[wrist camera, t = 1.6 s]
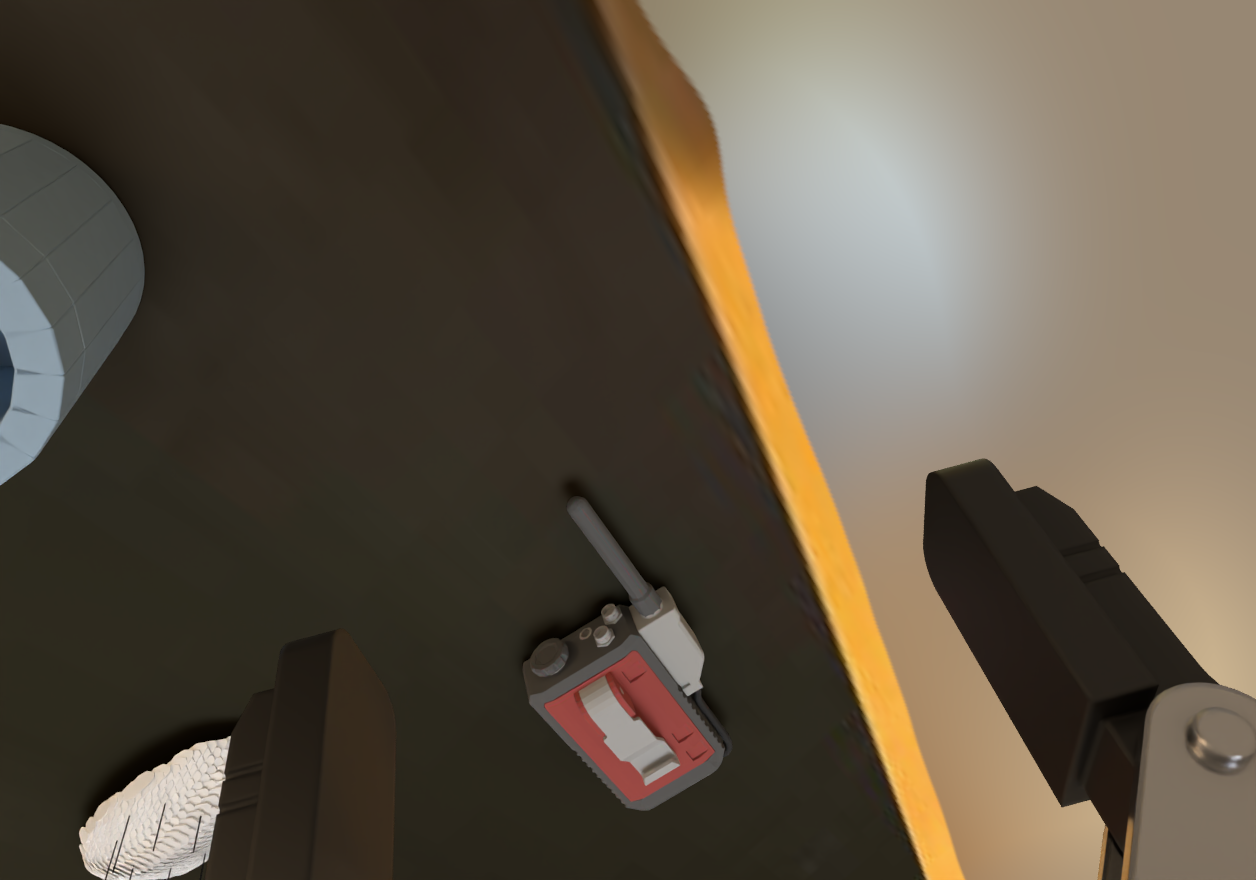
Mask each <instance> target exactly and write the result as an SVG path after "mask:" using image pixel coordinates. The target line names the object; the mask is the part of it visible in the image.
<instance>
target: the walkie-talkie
mask: <svg viewBox="0 0 1256 880" xmlns="http://www.w3.org/2000/svg"><path fill="white" fill-rule="evenodd" d="M566 507H567V511H568V513H569V514H570V516H571V517H572V518H573V520H574V521H575V522H576V524H577V525H578V526H579V528H580V529H581V530H582V532H583V533H584V534H585V536H586V537H587V538H588V540H589V541H590V542H591V544H592V545H593V546H594V548H595V549H596V551H597V552H598V553H599V555H600V556H601V557H602V559H603V560H604V561H605V563H606V564H607V565H608V567H609V568H610V569H611V571H612V572H613V573H614V575H615V576H616V577H617V579H618V580H619V581H620V583H621V584H622V585H623V587H624V588H625V589H626V591H627V592H628V593H629V600H630V602H631V603H632V604H633V605H631V606H630V607H628V606H624V605H620V604H619V605H618V606H615V605H614V604H608V605H606V606H605V607H604V608H603V609H602V611H601V614H602V615H601V616H599V617H598V618H596V619H594V620H593V621H591V622H590V623H588V624H586V625H585V626H583V627H581V628H580V629H578V630H576V631H575V632H573V633H571V634H570V635H568V636H566V637H565V638H563V639H562V640H560V639H559V638H552V639H549V640H546V641H544V642H542V643H541V644H540V645H539V646H538V647H537V648H536V649H535V650H534V652H533V654H532V656H531V658H530V659H529V660H527V661H525V662H524V663H523V675H524V680H525V685H526V690H527V695H528V700H529V703H530V705H531V706H532V707H533V708H534V709H535V710H536V711H537V712H538V713H539V714H540V715H541V716H542V718H543V719H544V720H545V721H546V722H547V723H548V724H549V725H550V726H551V727H552V728H553V729H554V730H555V732H556V733H557V734H558V735H559V736H560V737H561V738H562V739H563V740H564V741H565V742H566V743H567V744H568V746H569V747H570V748H571V749H572V750H575V751H576V754H577V755H578V756H581V759H582V761H585V762H586V764H587V766H588V767H591V769H592V771H593V772H595V773H596V775H597V777H598V778H601V780H602V782H603V783H606V786H607V788H610V789H611V792H612V793H615V795H616V797H617V798H620V801H621V803H624V804H625V807H626V808H632V809H637V810H650V809H652V808H654V807H656V806H657V805H659V804H661V803H662V802H664V801H666V800H668V799H669V798H671V797H673V796H674V795H676V794H678V793H679V792H681V791H683V790H684V789H686V788H688V787H689V786H691V785H693V784H694V783H696V782H698V781H699V780H701V779H703V778H705V777H706V776H708V775H710V774H711V773H713V772H714V771H715V770H717V769H718V767H719V766H720V764H721V763H722V759H723V757H725V756H727V755H728V754H729V753H730V752H731V750H732V741H731V738H730V737H729V734H728V732H727V731H726V730H725V728H724V727H723V726H722V724H721V723H720V722H719V720H718V719H717V718H716V716H715V715H714V714H713V712H712V711H711V710H710V708H709V707H708V706H707V704H706V703H705V701H704V700H703V698H702V697H701V688H702V687H703V686H702V683H701V681H700V675H701V671H702V666H703V662H704V653H703V650H702V648H701V646H700V644H699V642H698V640H697V638H696V636H695V634H694V632H693V631H692V629H691V628H690V627H689V625H688V624H687V622H686V621H685V619H684V618H683V616H682V615H681V614H680V612H679V611H678V609H677V606H676V604H675V602H674V600H673V598H672V596H671V594H670V593H669V592H668V590H667V589H666V588H665V587H661V588H660V589H658V590H656V591H655V590H654V588H653V587H652V585H651V584H649V583H647V582H645V581H644V579H643V578H642V577H641V575H640V574H639V572H638V571H637V570H636V568H635V567H634V565H633V564H632V563H631V561H630V560H629V558H628V557H627V556H626V554H625V553H624V551H623V550H622V549H621V547H620V546H619V544H618V543H617V542H616V540H615V539H614V538H613V536H612V535H611V533H610V532H609V531H608V529H607V528H606V526H605V525H604V524H603V522H602V521H601V519H600V518H599V517H598V515H597V514H596V513H595V511H594V510H593V508H592V507H591V506H590V504H589V503H588V501H587V500H586V499H585V498H583V497H580V496H574V497H572V498H570V500H569V501H568V503H567V506H566ZM719 734H720V736H721V737H722V738H723V742H722V740H721V738H720V736H719Z"/></svg>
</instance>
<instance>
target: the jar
mask: <svg viewBox="0 0 1256 880" xmlns="http://www.w3.org/2000/svg"><path fill="white" fill-rule="evenodd" d="M144 275H145V268H144V258H143V252H142V248H141V244H140V240H139V237H138V234H137V232H136V229H135V227H134V224H133V222H132V220H131V218H130V217H129V215H128V213H127V211H126V209H125V208H124V206H123V205H122V203H121V202H120V200H119V199H118V198H117V196H116V195H115V193H114V192H113V191H112V190H111V189H110V188H109V187H108V185H107V184H106V183H105V182H104V181H103V180H102V179H101V178H100V177H99V176H98V175H97V174H96V173H95V172H94V171H93V170H91V169H90V168H89V167H88V166H87V165H86V164H84V163H83V162H82V161H80V160H79V159H78V158H76V157H75V156H73V155H72V154H71V153H69V152H68V151H66V150H64V149H62V148H61V147H59V146H57V145H56V144H54V143H52V142H50V141H48V140H46V139H43V138H41V137H39V136H37V135H35V134H32V133H29V132H26V131H23V130H20V129H17V128H14V127H11V126H6V125H2V124H0V485H2V484H3V483H4V482H6V481H7V480H8V479H10V478H11V477H12V476H14V475H15V474H16V473H18V472H19V471H20V470H22V469H23V468H24V467H26V466H27V465H28V464H30V463H31V462H32V461H34V460H35V459H36V457H37V456H38V455H39V454H40V452H41V451H42V449H43V448H44V446H45V445H46V444H47V442H48V441H49V439H50V438H51V436H52V435H53V434H54V432H55V431H56V429H57V428H58V426H59V425H60V424H61V422H62V421H63V419H64V418H65V417H66V415H67V414H68V412H69V411H70V409H71V408H72V407H73V405H74V404H75V402H76V401H77V400H78V398H79V397H80V395H81V394H82V392H83V391H84V390H85V388H86V387H87V385H88V384H89V382H90V381H91V380H92V378H93V377H94V375H95V374H96V372H97V371H98V370H99V368H100V367H101V365H102V364H103V362H104V361H105V360H106V358H107V357H108V355H109V354H110V352H111V351H112V350H113V348H114V347H115V345H116V344H117V343H118V341H119V339H120V338H121V336H122V334H123V333H124V331H125V330H126V328H127V327H128V325H129V324H130V322H131V320H132V319H133V317H134V315H135V314H136V311H137V309H138V306H139V303H140V301H141V297H142V292H143V288H144Z"/></svg>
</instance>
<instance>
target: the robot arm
mask: <svg viewBox="0 0 1256 880" xmlns="http://www.w3.org/2000/svg"><path fill="white" fill-rule="evenodd" d="M925 494H926V495H925V515H924V539H923V550H924V557H925V562H926V566H927V569H928V572H929V575H930V578H931V580H932V582H933V585H934V587H935V589H936V591H937V592H938V594H939V596H940V598H941V599H942V601H943V603H944V605H945V606H946V608H947V610H948V611H949V613H950V615H951V617H952V618H953V620H954V622H955V623H956V625H957V627H958V629H959V630H960V632H961V634H962V636H963V637H964V639H965V641H966V643H967V644H968V646H969V648H970V650H971V651H972V653H973V655H974V656H975V658H976V660H977V661H978V663H979V665H980V667H981V668H982V670H983V672H984V674H985V675H986V677H987V679H988V681H989V682H990V684H991V686H992V688H993V689H994V691H995V693H996V694H997V696H998V698H999V699H1000V701H1001V703H1002V705H1003V707H1004V708H1005V710H1006V712H1007V713H1008V715H1009V717H1010V719H1011V720H1012V722H1013V724H1014V725H1015V727H1016V729H1017V731H1018V732H1019V734H1020V736H1021V738H1022V739H1023V741H1024V743H1025V745H1026V746H1027V748H1028V750H1029V751H1030V753H1031V755H1032V757H1033V758H1034V760H1035V762H1036V763H1037V765H1038V767H1039V769H1040V771H1041V772H1042V774H1043V776H1044V777H1045V779H1046V781H1047V783H1048V784H1049V786H1050V788H1051V790H1052V791H1053V793H1054V795H1055V796H1056V798H1057V800H1058V802H1059V803H1060V805H1061V807H1065V806H1069V805H1073V804H1076V803H1080V802H1083V801H1087V800H1091V801H1092V803H1093V805H1094V806H1095V808H1096V810H1097V811H1098V813H1099V815H1100V816H1101V818H1102V820H1103V821H1104V823H1105V824H1106V825H1105V829H1104V833H1103V840H1102V849H1101V856H1100V864H1099V872H1098V879H1097V880H1256V699H1254V698H1252V697H1251V696H1249V695H1247V694H1244V693H1242V692H1240V691H1238V690H1235V689H1232V688H1228V687H1226V686H1222V685H1219V684H1218V683H1217V682H1216V681H1215V680H1214V679H1213V678H1211V677H1210V676H1209V675H1208V674H1207V673H1206V672H1205V671H1204V670H1203V669H1202V667H1201V666H1200V665H1199V664H1198V663H1197V661H1196V660H1195V659H1194V658H1193V656H1192V655H1191V654H1190V653H1189V651H1188V650H1187V649H1186V648H1185V647H1184V645H1183V644H1182V643H1181V642H1180V640H1179V639H1178V638H1177V637H1176V635H1175V634H1174V633H1173V632H1172V630H1171V629H1170V628H1169V627H1168V625H1167V624H1166V623H1165V622H1164V621H1163V619H1162V618H1161V617H1160V616H1159V614H1158V613H1157V612H1156V611H1155V609H1154V608H1153V607H1152V606H1151V605H1150V603H1149V602H1148V601H1147V600H1146V598H1145V597H1144V596H1143V594H1142V593H1141V592H1140V591H1139V590H1138V588H1137V587H1136V586H1135V585H1134V583H1133V582H1132V581H1131V580H1130V578H1129V577H1128V576H1127V575H1126V574H1125V572H1124V573H1122V572H1121V571H1120V569H1119V565H1118V563H1117V562H1116V561H1115V560H1114V559H1113V557H1112V556H1111V555H1110V554H1109V553H1108V551H1107V550H1106V549H1105V547H1101V546H1100V544H1099V540H1098V539H1097V538H1096V536H1095V535H1094V534H1093V532H1092V531H1091V530H1090V529H1089V528H1088V526H1087V525H1086V524H1085V523H1084V521H1083V520H1082V519H1081V518H1080V516H1079V515H1078V514H1077V513H1076V511H1075V510H1074V509H1073V508H1071V507H1069V506H1068V505H1066V504H1065V503H1063V502H1061V501H1060V500H1058V499H1057V498H1055V497H1053V496H1052V495H1050V494H1049V493H1047V492H1045V491H1044V490H1042V489H1040V488H1039V487H1037V486H1034V487H1031V488H1027V489H1023V490H1020V491H1016V492H1014V491H1013V489H1012V488H1011V486H1010V485H1009V484H1008V482H1007V481H1006V480H1005V478H1004V477H1003V476H1002V474H1001V473H1000V472H999V470H998V469H997V468H996V466H995V465H994V464H993V463H992V462H990V461H989V460H987V459H979V460H975V461H972V462H968V463H964V464H960V465H957V466H953V467H949V468H945V469H942V470H938V471H934V472H931V473H929V474H928V476H927V479H926V493H925ZM395 764H396V723H395V716H394V711H393V707H392V703H391V700H390V697H389V695H388V692H387V690H386V688H385V687H384V685H383V684H382V682H381V681H380V679H379V678H378V676H377V675H376V673H375V672H374V670H373V669H372V667H371V666H370V664H369V663H368V661H367V660H366V658H365V657H364V655H363V654H362V652H361V651H360V649H359V648H358V646H357V645H356V643H355V642H354V641H353V639H352V638H351V636H350V635H349V633H348V632H347V631H346V630H344V629H337V630H333V631H329V632H326V633H322V634H318V635H315V636H311V637H307V638H303V639H300V640H296V641H292V642H289V643H286V644H285V645H284V646H283V648H282V649H281V652H280V656H279V661H278V668H277V674H276V681H275V688H274V689H270V690H266V691H263V692H259V693H255V694H253V696H252V697H251V699H250V701H249V703H248V705H247V706H246V708H245V710H244V712H243V714H242V715H241V717H240V719H239V721H238V722H237V724H236V726H235V728H234V730H233V731H232V733H231V739H230V744H229V750H228V755H227V760H226V766H225V771H224V774H225V777H226V779H225V781H223V782H222V787H221V793H220V798H219V804H218V807H219V809H220V812H219V814H217V815H216V820H215V825H214V831H213V836H212V842H211V847H210V853H209V858H208V863H207V869H206V874H205V880H393V845H394V804H395Z"/></svg>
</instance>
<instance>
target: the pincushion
mask: <svg viewBox="0 0 1256 880" xmlns="http://www.w3.org/2000/svg"><path fill="white" fill-rule="evenodd" d="M230 739H231V736H229V737H227V738H226V739H220V740H216V741H215V740H213V741H206V742H203V743H196V744H195V745H194V746H192V747H191V748H190V749H189V750H183V751H181V752H180V753H178V754H176V755H175V756H174V757H173V759H172V760H171V761H170V762H168V763H167V764H162V765H160V766H158V767H156V768H154V769H153V770H152V772H151V771H146V772H144V773H142V774H140V775H139V776H137V778H136V779H135V780H134V781H132V782H131V783H130V784H129V785H127V786H126V787H125V789H124V790H123V791H122V792H117V793H116V794H115V795H113V796H111V797H110V798H109V799H108V800H106V801H104V802H103V803H102V804H101V805H99V806H98V808H97V810H96V812H95V814H94V817H90V818H89V819H88V821H87V823H86V827H82V828H81V829H80V832H79V835H80V839H81V843H82V844H83V845H82V844H80V846H79V848H80V851H81V853H82V855H83V857H82V858H83V861H84V864H85V867H86V868H87V869H88V870H89V872H90V873H92V874H93V875H95V876H97V877H100V878H102V879H104V880H106V879H107V880H150V879H153V880H155V879H167V878H168V880H169V878H171V877H173V876H180V875H183V874H185V873H187V872H189V871H190V870H193V869H194V868H196V867H198V866H199V865H201V864H202V863H203V864H202V869H201V875H200V880H201V877H202V872H203V867H204V862H206V861H207V860H208V858H209V853H210V847H211V842H212V836H213V831H214V825H215V820H216V815H217V814H219V812H220V809H219V807H218V804H219V798H220V793H221V787H222V782H223V781H225V779H226V777H225V774H224V771H225V766H226V760H227V755H228V750H229V744H230ZM209 845H210V846H209ZM207 846H208V847H207ZM205 847H206V848H205ZM198 850H199V851H198ZM202 850H203V851H202ZM196 851H197V852H196ZM200 851H201V852H200ZM198 852H199V853H198ZM193 854H194V855H193ZM188 856H189V857H188ZM185 857H186V858H185ZM177 858H178V859H177ZM182 858H184V859H182ZM179 859H180V860H179ZM181 860H182V861H181ZM178 861H179V862H178ZM169 862H171V863H169ZM164 863H167V864H164ZM164 865H165V866H164ZM158 866H159V867H158ZM113 867H114V868H113ZM115 868H116V869H118V870H119V871H118V870H116V869H115Z"/></svg>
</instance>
